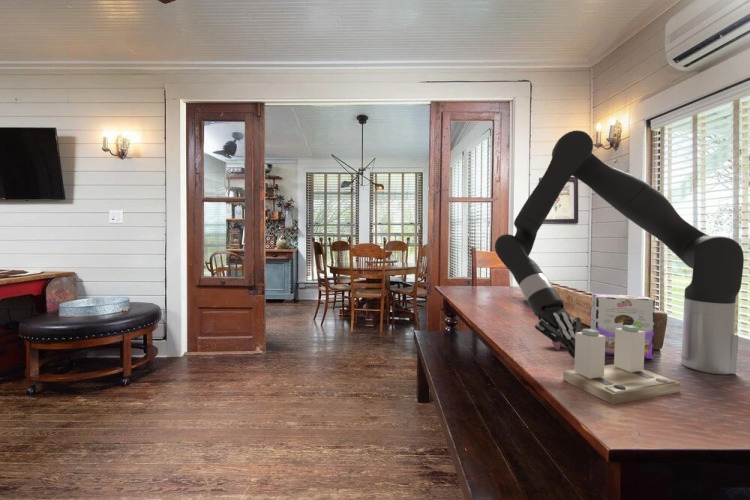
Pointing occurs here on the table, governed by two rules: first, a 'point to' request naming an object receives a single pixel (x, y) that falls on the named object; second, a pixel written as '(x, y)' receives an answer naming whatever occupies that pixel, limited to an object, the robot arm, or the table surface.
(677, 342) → the table surface
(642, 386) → the switch board
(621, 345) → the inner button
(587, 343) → the white bottle with cap
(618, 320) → the candy box
